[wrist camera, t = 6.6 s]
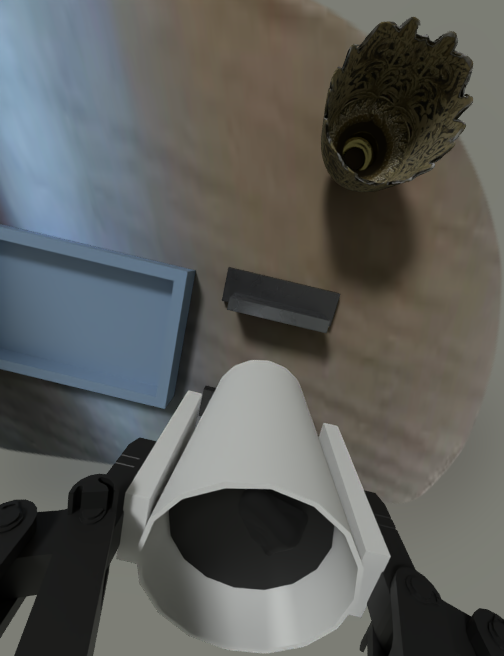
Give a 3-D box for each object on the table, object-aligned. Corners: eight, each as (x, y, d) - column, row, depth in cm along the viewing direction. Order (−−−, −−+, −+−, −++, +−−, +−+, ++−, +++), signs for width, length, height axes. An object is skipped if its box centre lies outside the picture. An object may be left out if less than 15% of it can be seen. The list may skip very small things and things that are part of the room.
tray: (-17, 220, 25) (-47, 215, 23) (195, 270, 25) (187, 271, 22) (-14, 350, 28) (-40, 359, 26) (173, 396, 28) (164, 408, 26)
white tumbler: (245, 332, 17) (212, 436, 7) (332, 391, 17) (415, 564, 7) (189, 410, 18) (97, 586, 8) (271, 462, 19) (273, 681, 9)
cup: (291, 187, 23) (302, 150, 15) (331, 89, 21) (368, -12, 13) (373, 223, 23) (425, 204, 15) (419, 129, 21) (506, 53, 13)
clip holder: (229, 267, 25) (222, 268, 21) (338, 293, 24) (350, 299, 21) (200, 411, 28) (189, 435, 24) (294, 434, 28) (298, 461, 24)
